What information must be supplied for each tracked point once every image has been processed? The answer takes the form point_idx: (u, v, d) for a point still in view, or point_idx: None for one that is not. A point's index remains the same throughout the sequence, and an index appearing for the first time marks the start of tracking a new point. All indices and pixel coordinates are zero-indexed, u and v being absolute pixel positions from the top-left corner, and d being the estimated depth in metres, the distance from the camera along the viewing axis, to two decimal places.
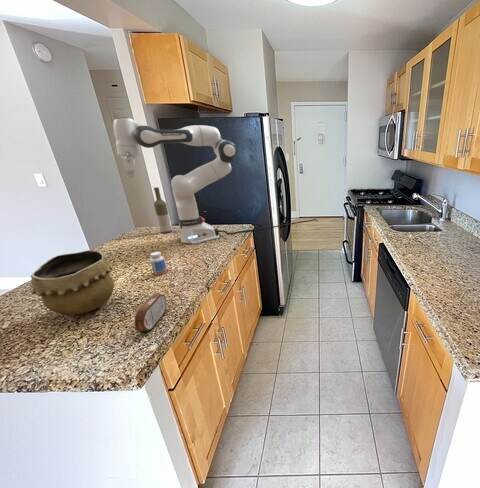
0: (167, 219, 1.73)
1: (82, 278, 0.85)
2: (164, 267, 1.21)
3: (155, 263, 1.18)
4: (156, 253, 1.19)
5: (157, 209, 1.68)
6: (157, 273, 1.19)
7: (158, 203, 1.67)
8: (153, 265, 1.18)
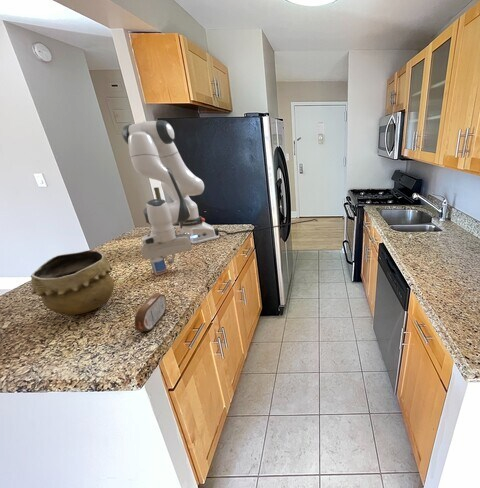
0: None
1: (82, 278, 0.85)
2: (164, 267, 1.21)
3: (155, 263, 1.17)
4: None
5: None
6: (157, 273, 1.19)
7: None
8: (153, 265, 1.18)
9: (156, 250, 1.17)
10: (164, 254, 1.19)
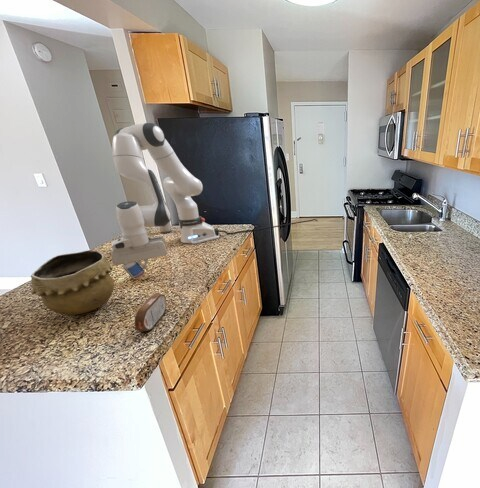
0: None
1: (82, 278, 0.85)
2: (140, 270, 1.15)
3: (128, 268, 1.12)
4: None
5: None
6: (135, 278, 1.15)
7: None
8: (127, 271, 1.13)
9: (128, 255, 1.11)
10: (136, 259, 1.13)
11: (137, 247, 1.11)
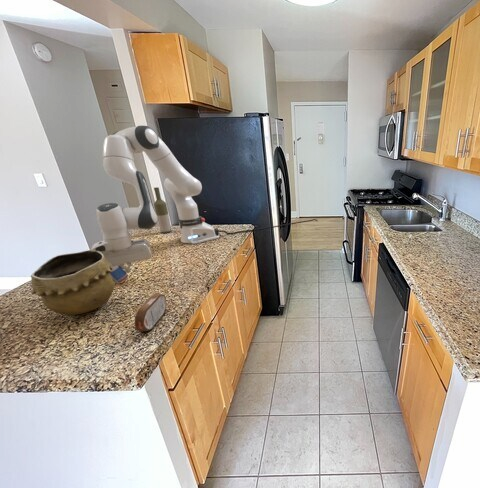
0: (167, 219, 1.73)
1: (82, 278, 0.85)
2: (123, 274, 1.12)
3: (111, 272, 1.08)
4: None
5: (157, 209, 1.68)
6: (118, 282, 1.11)
7: (158, 203, 1.67)
8: (110, 275, 1.09)
9: (110, 259, 1.08)
10: (119, 263, 1.10)
11: (119, 250, 1.08)
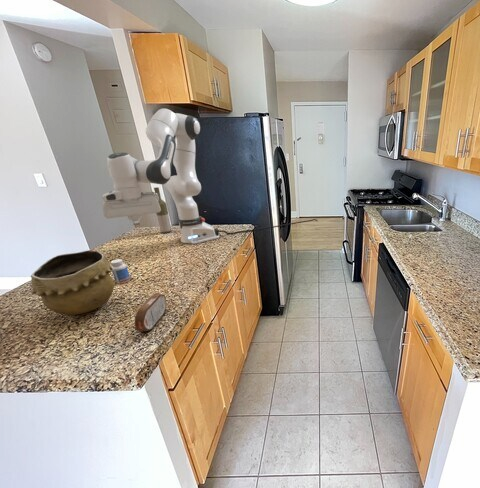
0: (167, 219, 1.73)
1: (82, 278, 0.85)
2: (127, 275, 1.14)
3: (117, 271, 1.10)
4: (117, 261, 1.11)
5: None
6: (120, 282, 1.12)
7: None
8: (115, 274, 1.10)
9: (120, 209, 1.08)
10: (129, 214, 1.10)
11: (129, 200, 1.08)
